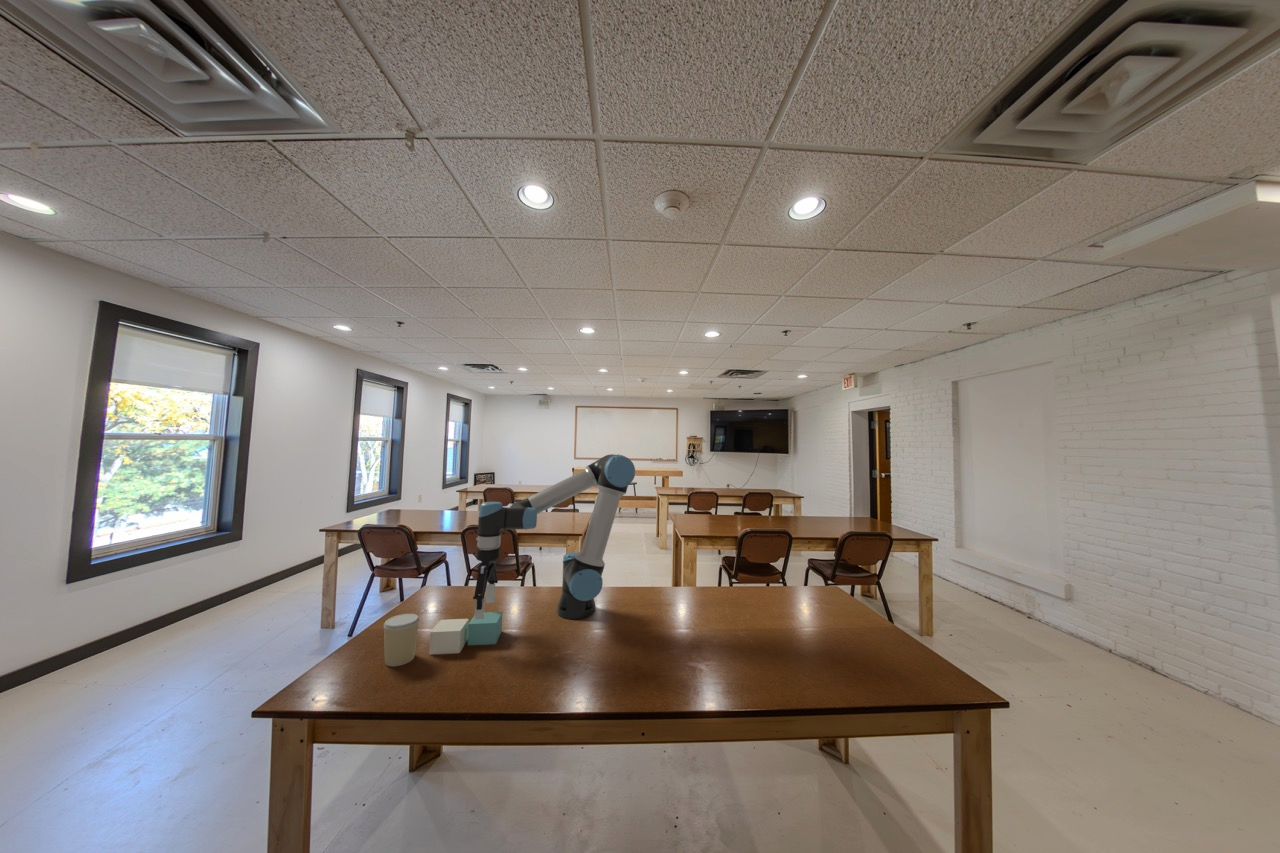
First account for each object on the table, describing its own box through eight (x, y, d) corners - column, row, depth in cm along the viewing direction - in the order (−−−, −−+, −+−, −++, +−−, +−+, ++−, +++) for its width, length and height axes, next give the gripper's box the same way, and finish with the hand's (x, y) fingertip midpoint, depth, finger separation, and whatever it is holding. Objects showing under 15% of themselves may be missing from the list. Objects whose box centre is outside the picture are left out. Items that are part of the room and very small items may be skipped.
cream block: (467, 639, 134) (468, 618, 135) (459, 653, 125) (460, 630, 126) (439, 641, 133) (440, 619, 133) (429, 655, 124) (430, 632, 124)
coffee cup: (424, 652, 125) (425, 614, 126) (403, 669, 116) (405, 627, 116) (396, 650, 126) (398, 612, 127) (373, 666, 117) (376, 625, 117)
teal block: (501, 631, 140) (502, 611, 141) (495, 644, 131) (496, 622, 132) (475, 633, 139) (475, 612, 139) (467, 645, 130) (468, 624, 131)
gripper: (486, 539, 149) (483, 596, 148) (465, 557, 124) (461, 626, 123) (507, 539, 150) (504, 596, 148) (490, 557, 125) (486, 626, 124)
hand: (485, 610), depth 136 cm, fingers open, 13 cm apart
